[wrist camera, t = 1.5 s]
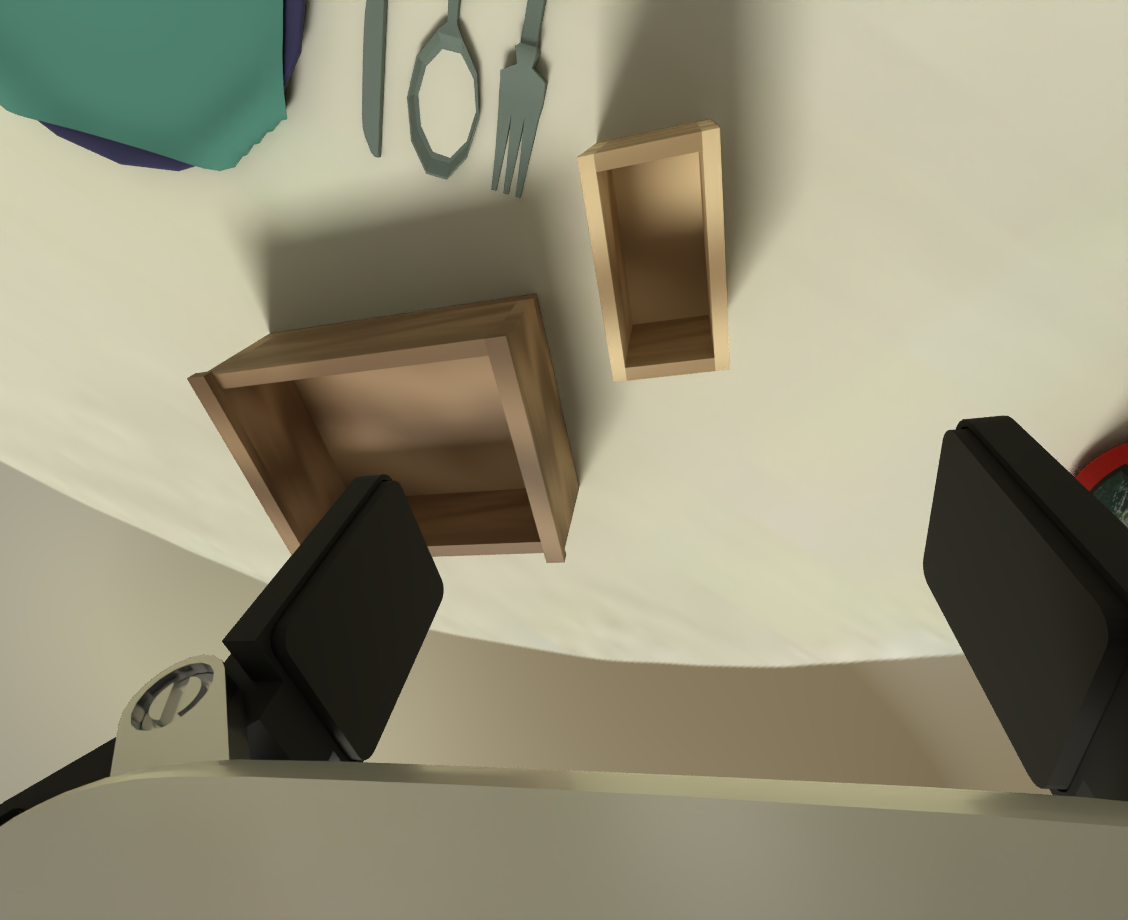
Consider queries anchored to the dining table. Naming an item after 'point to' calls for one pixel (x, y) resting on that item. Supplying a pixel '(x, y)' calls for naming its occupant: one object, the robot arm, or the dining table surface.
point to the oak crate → (659, 250)
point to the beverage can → (1109, 480)
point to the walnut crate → (407, 424)
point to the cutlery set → (221, 78)
